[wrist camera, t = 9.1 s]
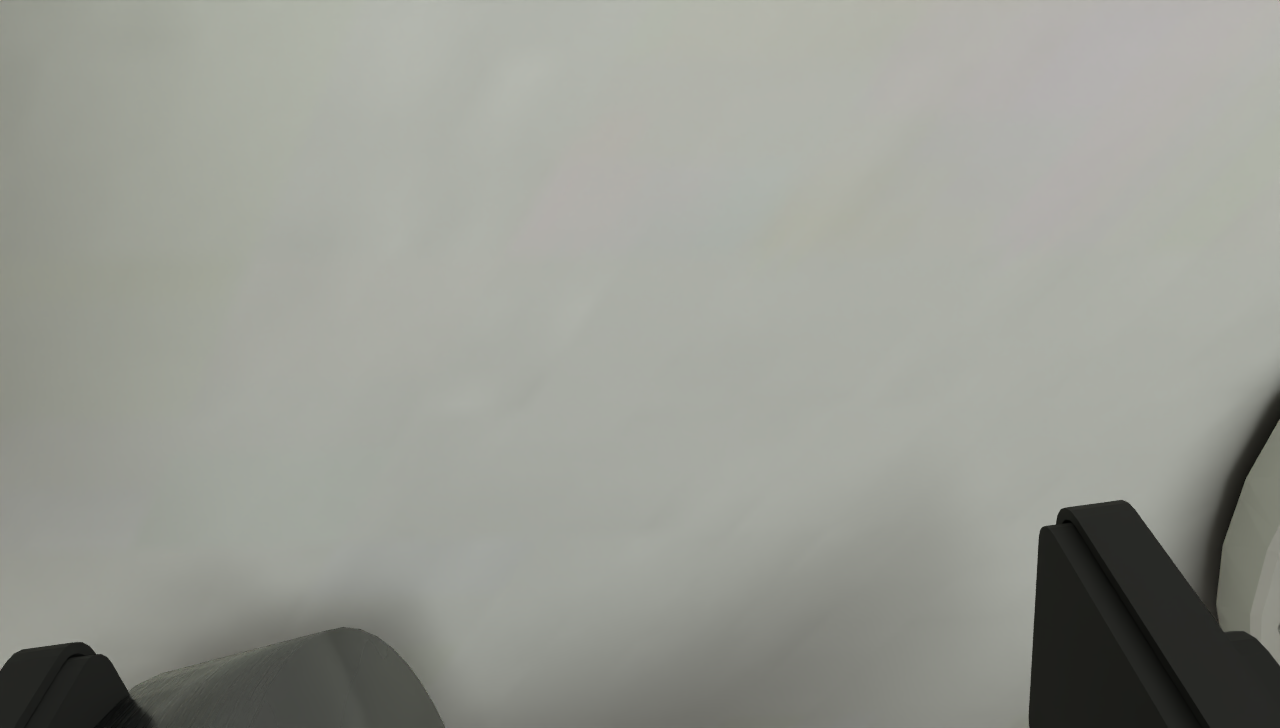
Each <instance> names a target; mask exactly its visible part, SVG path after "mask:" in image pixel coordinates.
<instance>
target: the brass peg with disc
mask: <svg viewBox="0 0 1280 728" xmlns="http://www.w3.org/2000/svg"><path fill="white" fill-rule="evenodd" d="M94 728H445V726H444V724H443V722H442V720H441V718H440V716H439V714H438V712H437V710H436V708H435V706H434V704H433V702H432V700H431V699H430V697H429V695H428V694H427V692H426V690H425V689H424V687H423V685H422V683H421V682H420V681H419V679H418V678H417V677H416V675H415V674H414V672H413V671H412V670H411V668H410V667H409V666H408V664H407V663H406V662H405V661H404V660H403V659H402V658H401V657H400V656H399V655H398V654H397V653H396V652H395V650H394V649H393V648H391V647H390V646H389V645H387V644H386V643H385V642H383V641H382V640H381V639H379V638H378V637H377V636H375V635H372V634H370V633H368V632H365V631H363V630H361V629H354V628H346V627H342V628H337V629H332V630H328V631H323V632H320V633H316V634H312V635H308V636H304V637H300V638H296V639H293V640H289V641H285V642H281V643H277V644H273V645H270V646H266V647H262V648H258V649H254V650H250V651H246V652H243V653H239V654H235V655H231V656H227V657H223V658H220V659H216V660H212V661H208V662H204V663H200V664H196V665H193V666H189V667H185V668H181V669H177V670H173V671H169V672H166V673H162V674H159V675H157V676H155V677H153V678H151V679H149V680H147V681H145V682H143V683H141V684H139V685H137V686H135V687H134V688H132V689H131V690H130V691H129V695H128V696H126V697H125V698H124V699H122V700H121V701H120V702H118V703H117V704H116V705H115V706H114V707H113V708H112V709H111V710H110V711H109V712H108V713H107V714H106V715H105V716H104V717H103V718H102V719H101V720H100V722H99V723H98V724H97V725H96V726H95V727H94Z"/></svg>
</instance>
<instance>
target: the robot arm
mask: <svg viewBox="0 0 1280 728" xmlns="http://www.w3.org/2000/svg"><path fill="white" fill-rule="evenodd" d="M1216 607H1217V613H1218V620H1219V625H1218V623H1217V622H1216V621H1215V619H1214V618H1213V616H1212V615H1211V614H1210V612H1209V611H1208V610H1207V608H1206V607H1205V605H1204V604H1203V603H1202V601H1201V600H1200V599H1199V597H1198V596H1197V594H1196V593H1195V592H1194V590H1193V589H1192V588H1191V586H1190V585H1189V583H1188V582H1187V581H1186V579H1185V578H1184V576H1183V575H1182V574H1181V572H1180V571H1179V570H1178V568H1177V567H1176V565H1175V564H1174V563H1173V561H1172V560H1171V559H1170V557H1169V556H1168V554H1167V553H1166V552H1165V550H1164V549H1163V548H1162V546H1161V545H1160V543H1159V542H1158V541H1157V539H1156V538H1155V537H1154V535H1153V534H1152V532H1151V531H1150V530H1149V528H1148V527H1147V526H1146V524H1145V523H1144V521H1143V520H1142V519H1141V517H1140V516H1139V515H1138V513H1137V512H1136V510H1135V509H1134V508H1133V507H1132V506H1131V505H1130V504H1129V503H1128V502H1126V501H1123V500H1119V501H1111V502H1104V503H1097V504H1089V505H1082V506H1075V507H1067V508H1063V509H1061V510H1060V512H1059V513H1058V515H1057V521H1056V525H1050V526H1044V527H1042V528H1041V530H1040V534H1039V545H1038V563H1037V580H1036V598H1035V616H1034V633H1033V651H1032V668H1031V686H1030V703H1029V727H1030V728H1280V420H1279V421H1278V423H1277V425H1276V427H1275V428H1274V430H1273V432H1272V434H1271V435H1270V437H1269V439H1268V441H1267V442H1266V444H1265V446H1264V448H1263V449H1262V451H1261V453H1260V455H1259V456H1258V458H1257V460H1256V462H1255V463H1254V465H1253V467H1252V469H1251V471H1250V472H1249V474H1248V476H1247V478H1246V480H1245V483H1244V486H1243V489H1242V492H1241V495H1240V497H1239V500H1238V503H1237V506H1236V509H1235V512H1234V515H1233V517H1232V520H1231V523H1230V526H1229V529H1228V532H1227V535H1226V537H1225V540H1224V543H1223V548H1222V557H1221V566H1220V574H1219V583H1218V592H1217V601H1216ZM128 695H129V692H128V691H127V689H126V687H125V685H124V684H123V682H122V680H121V678H120V677H119V675H118V673H117V671H116V670H115V668H114V666H113V664H112V663H111V661H110V660H109V659H108V658H107V657H106V656H104V655H102V654H96V653H95V652H94V651H93V650H92V648H91V647H90V646H88V645H86V644H84V643H83V642H74V643H67V644H59V645H52V646H45V647H38V648H30V649H23V650H21V651H19V652H17V653H15V654H13V655H12V657H11V658H10V659H9V660H8V661H7V662H6V663H5V665H4V666H3V668H2V669H1V671H0V728H94V727H95V726H96V725H97V724H98V723H99V722H100V720H101V719H102V718H103V717H104V716H105V715H106V714H107V713H108V712H109V711H110V710H111V709H112V708H113V707H114V706H115V705H116V704H117V703H118V702H120V701H121V700H122V699H124V698H125V697H126V696H128Z"/></svg>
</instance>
